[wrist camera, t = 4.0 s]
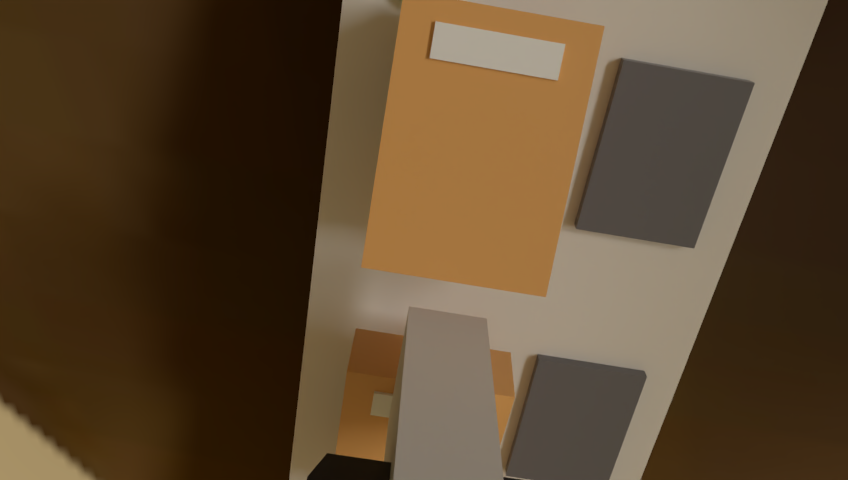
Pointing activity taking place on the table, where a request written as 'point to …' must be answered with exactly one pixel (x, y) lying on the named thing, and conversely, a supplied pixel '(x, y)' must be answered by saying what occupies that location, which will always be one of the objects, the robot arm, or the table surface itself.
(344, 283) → the power strip
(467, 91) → the orange block
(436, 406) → the robot arm
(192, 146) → the table surface
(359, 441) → the orange block
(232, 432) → the table surface
